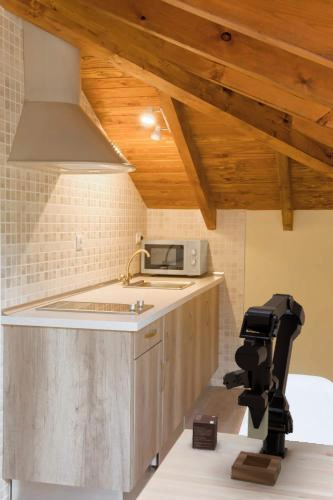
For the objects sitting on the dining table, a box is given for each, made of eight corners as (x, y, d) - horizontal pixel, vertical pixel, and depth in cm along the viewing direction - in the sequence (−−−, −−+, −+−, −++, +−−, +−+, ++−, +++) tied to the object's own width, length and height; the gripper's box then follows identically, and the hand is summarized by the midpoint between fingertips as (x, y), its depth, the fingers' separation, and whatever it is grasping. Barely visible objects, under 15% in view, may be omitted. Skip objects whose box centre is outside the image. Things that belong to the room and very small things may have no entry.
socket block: (240, 462, 155) (241, 450, 155) (280, 469, 152) (281, 457, 151) (231, 478, 146) (231, 466, 145) (273, 486, 142) (274, 473, 142)
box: (195, 440, 169) (196, 413, 169) (217, 442, 168) (218, 415, 168) (191, 448, 164) (192, 421, 163) (214, 450, 162) (215, 423, 162)
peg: (251, 432, 151) (251, 399, 150) (267, 434, 149) (268, 401, 149) (247, 437, 147) (248, 404, 146) (264, 440, 145) (265, 406, 145)
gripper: (235, 349, 158) (234, 409, 159) (216, 366, 141) (214, 434, 142) (279, 353, 154) (277, 415, 156) (265, 372, 137) (263, 441, 138)
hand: (258, 425), depth 148 cm, fingers closed on peg, 4 cm apart
